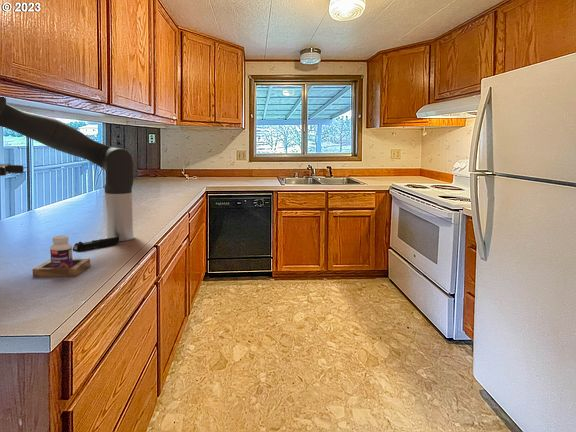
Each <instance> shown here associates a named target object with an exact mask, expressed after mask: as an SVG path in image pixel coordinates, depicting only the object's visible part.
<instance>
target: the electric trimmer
mask: <svg viewBox="0 0 576 432" xmlns="http://www.w3.org/2000/svg"><path fill="white" fill-rule="evenodd" d="M119 242H120V241H119V237H114V238H107V237H106V238H100V239H96V240H94V239H93V240H91V241H85V242H82V241H78V242H76V243H75V244H74V245H73V247H72V252H75V253H77V252H79V253H81V251H84V250H85V251H86V250H90V249H96V248H97V249H98V248H105V247H109V246H113V245H117V244H119Z"/></svg>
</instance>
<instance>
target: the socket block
mask: <svg viewBox="0 0 576 432" xmlns="http://www.w3.org/2000/svg"><path fill="white" fill-rule="evenodd" d="M72 260H73V267H72V268H51V258H50V259H49V260H47V261H45V262H42V263H41V264H39V265H37V266H35V267H33V268H32V277H51V276H75V277H76V276H78V275H80V272H81V273H82V272H83V271H85V270H86V269H88V268H89V267H91V258H72ZM87 267H88V268H87ZM77 274H78V275H77Z"/></svg>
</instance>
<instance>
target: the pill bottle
mask: <svg viewBox="0 0 576 432" xmlns="http://www.w3.org/2000/svg"><path fill="white" fill-rule="evenodd" d="M51 238H52V239H51V241H52V243H53V244H51V245H50V247H49V249H50V252H49V253H50V259H51V268H72V267H73V260H72V259H73V247H72V246H73V245H72V244H70V243H69V235H61V234H60V235H54V236H52V237H51Z"/></svg>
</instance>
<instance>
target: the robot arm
mask: <svg viewBox="0 0 576 432" xmlns="http://www.w3.org/2000/svg"><path fill="white" fill-rule="evenodd" d="M0 127H2V128H5V129H8V130H10V131H13V132H15V133H17V134H20V135H22V136H25V137H26V138H29V139H31V140H34V141H36V142H37V143H40V144H42V145H45V146H47V147H50V148H51V149H54V150H56V151H60V152H62V153H66V154H68V155H71V156H75V157H78V158H81V159H84V160H86V161H89V162H91V163H92V164H94V165H96V166H98V167H100V168H102V169H103V170H104V171H106V183H105V184H104V198H105V199H104V201H105V219H106V220H105V223H106V239H107V238H114V237H119V242H125V241H131V240H133V239H134V237H135V236H134V216H133V212H134V210H133V185H134V160H133V156H132V154H131V153H130V152H129V151H128V150H126V149H125V148H121V147H113V146H110V145H107V144H104V143H100V142H99V141H95V140H94V139H92V138H90V137H88V136H87V135H85V134H84V133H83V132H81V131H80V130H78V129H77V128H75V127H74V126H71V125H69V124H67V123H65V122H62V121H61V120H58V119H56V118H53V117H51V116H47V115H43V114H42V115H41V114H36V113H33V112H28V111H24V110H21V109H19V108H16V107H14V106H12V105H10V104H9V103H7V98H6V97H5V98H4V97H0ZM24 170H25V169H24V165H23V164H11V163H0V177H2V176H3V177H4V176H7V175H9V174H23V173H24Z"/></svg>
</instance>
